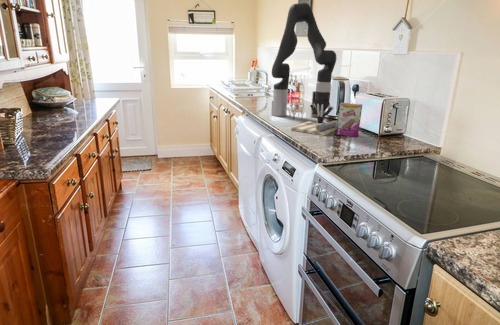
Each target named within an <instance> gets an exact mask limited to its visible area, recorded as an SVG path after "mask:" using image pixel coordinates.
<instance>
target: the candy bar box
mask: <svg viewBox="0 0 500 325" xmlns="http://www.w3.org/2000/svg"><path fill="white" fill-rule="evenodd" d="M338 106H339V107H338V116H337V129H336V130H335V131H336V134H335V135H336V136H341V137H342V136H345V137H353V138H358V137H359V132H360V127H361V126H360V124H361V117H362V111H363V110H362V109H363V104H362V103H352V102H351V103H349V102H340V103H339V105H338Z"/></svg>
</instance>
